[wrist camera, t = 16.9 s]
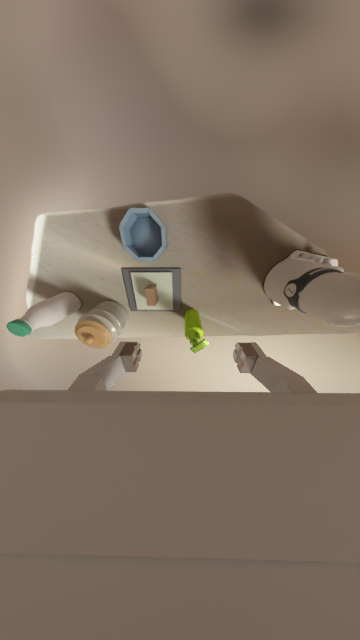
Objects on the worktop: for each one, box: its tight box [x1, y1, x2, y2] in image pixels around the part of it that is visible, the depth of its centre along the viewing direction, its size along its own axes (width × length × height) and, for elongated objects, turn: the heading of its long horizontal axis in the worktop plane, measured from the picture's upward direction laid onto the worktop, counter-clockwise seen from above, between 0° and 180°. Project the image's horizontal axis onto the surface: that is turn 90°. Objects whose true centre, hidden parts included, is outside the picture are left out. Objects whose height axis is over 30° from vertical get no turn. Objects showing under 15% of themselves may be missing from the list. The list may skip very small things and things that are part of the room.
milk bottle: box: [7, 292, 81, 336], centre depth 43 cm, size 8×8×20 cm
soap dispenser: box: [185, 309, 209, 353], centre depth 45 cm, size 6×7×20 cm
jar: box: [75, 301, 128, 348], centre depth 47 cm, size 13×13×18 cm
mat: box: [122, 268, 181, 311], centre depth 49 cm, size 20×16×1 cm
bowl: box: [119, 208, 168, 261], centre depth 38 cm, size 12×12×6 cm
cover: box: [130, 272, 173, 310], centre depth 46 cm, size 14×14×6 cm
